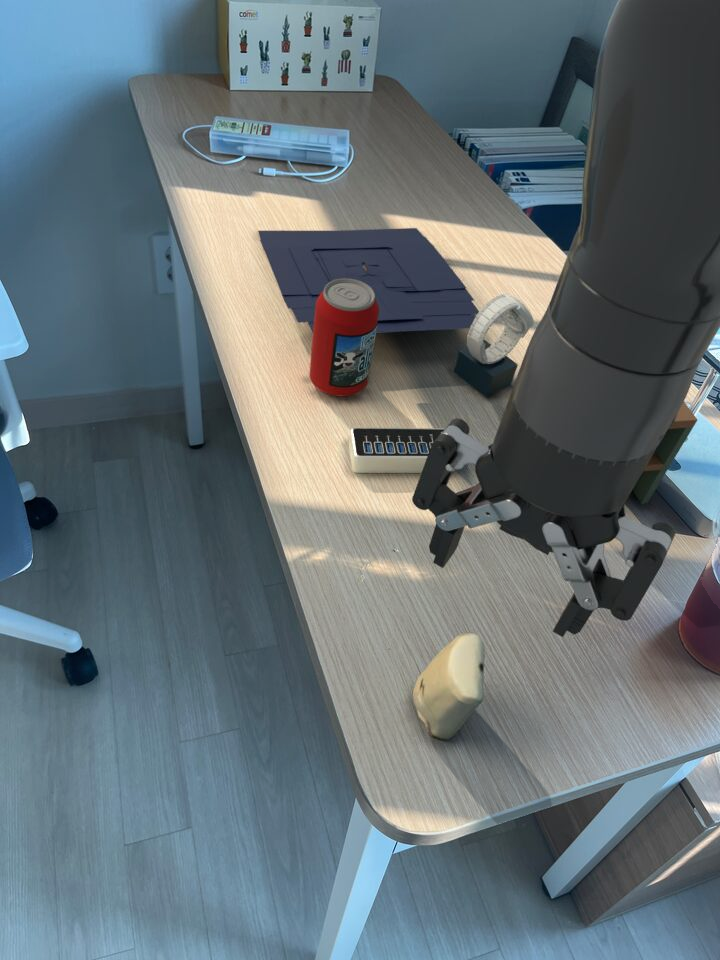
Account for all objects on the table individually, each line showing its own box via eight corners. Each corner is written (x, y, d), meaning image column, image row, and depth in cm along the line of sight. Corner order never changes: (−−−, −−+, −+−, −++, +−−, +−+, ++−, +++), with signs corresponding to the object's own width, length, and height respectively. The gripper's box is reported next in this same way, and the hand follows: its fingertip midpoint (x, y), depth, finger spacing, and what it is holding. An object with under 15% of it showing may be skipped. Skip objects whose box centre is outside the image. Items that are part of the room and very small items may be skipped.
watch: (521, 379, 92) (549, 302, 84) (476, 402, 87) (500, 324, 79) (488, 354, 94) (511, 277, 86) (442, 376, 90) (463, 297, 82)
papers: (296, 358, 87) (298, 330, 84) (255, 249, 108) (255, 224, 106) (491, 347, 93) (497, 320, 90) (415, 245, 114) (419, 222, 112)
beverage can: (346, 409, 84) (359, 320, 75) (297, 384, 86) (304, 293, 77) (377, 379, 88) (393, 291, 79) (329, 356, 90) (339, 267, 81)
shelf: (647, 503, 80) (698, 419, 71) (570, 510, 78) (612, 425, 69) (603, 431, 87) (644, 347, 78) (531, 436, 85) (565, 350, 76)
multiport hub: (348, 442, 80) (350, 426, 79) (447, 443, 82) (452, 427, 81) (352, 473, 77) (355, 457, 76) (455, 473, 79) (460, 457, 78)
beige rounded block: (488, 732, 60) (515, 683, 54) (432, 758, 58) (454, 710, 52) (451, 671, 63) (473, 620, 57) (397, 694, 61) (414, 643, 55)
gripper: (427, 377, 37) (378, 573, 48) (714, 518, 32) (584, 694, 44) (492, 310, 41) (433, 503, 53) (749, 426, 37) (623, 607, 49)
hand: (502, 590), depth 49 cm, fingers open, 8 cm apart
